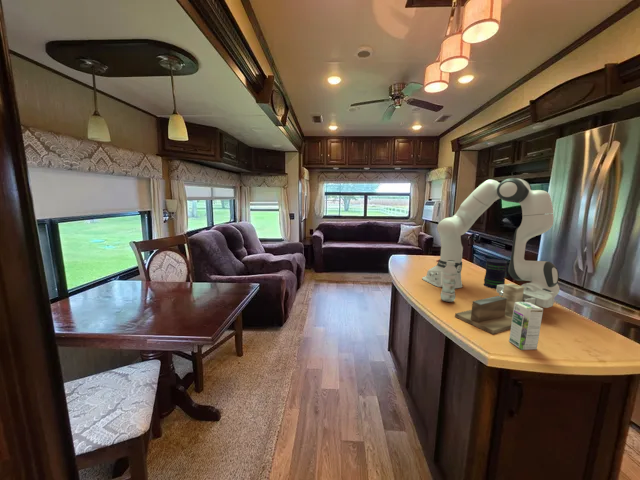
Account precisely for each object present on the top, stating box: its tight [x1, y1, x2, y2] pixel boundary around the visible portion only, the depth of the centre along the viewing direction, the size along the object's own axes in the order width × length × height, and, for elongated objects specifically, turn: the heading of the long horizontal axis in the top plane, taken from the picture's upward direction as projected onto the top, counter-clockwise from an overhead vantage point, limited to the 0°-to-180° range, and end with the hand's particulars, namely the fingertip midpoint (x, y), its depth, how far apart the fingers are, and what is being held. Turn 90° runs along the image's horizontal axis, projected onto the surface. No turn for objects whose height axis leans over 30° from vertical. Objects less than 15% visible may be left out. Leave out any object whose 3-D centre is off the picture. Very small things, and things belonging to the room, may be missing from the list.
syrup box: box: [508, 302, 544, 351], centre depth 91 cm, size 6×6×14 cm
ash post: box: [502, 282, 524, 318], centre depth 116 cm, size 5×5×13 cm
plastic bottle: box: [440, 260, 457, 303], centre depth 130 cm, size 6×7×20 cm
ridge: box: [454, 295, 512, 335], centre depth 110 cm, size 16×18×9 cm
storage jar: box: [483, 258, 508, 290], centre depth 154 cm, size 10×10×15 cm
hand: (511, 297), depth 115 cm, fingers open, 8 cm apart
